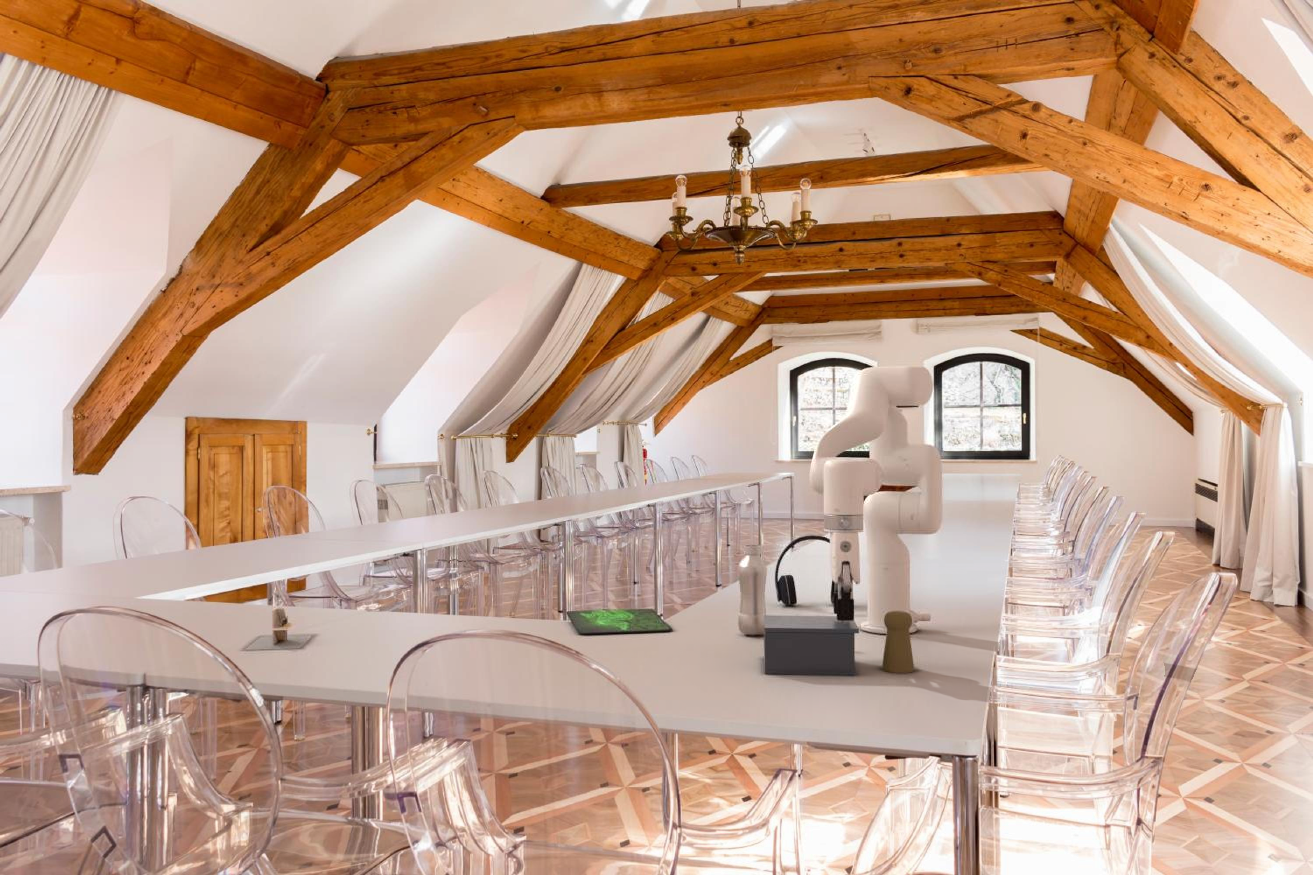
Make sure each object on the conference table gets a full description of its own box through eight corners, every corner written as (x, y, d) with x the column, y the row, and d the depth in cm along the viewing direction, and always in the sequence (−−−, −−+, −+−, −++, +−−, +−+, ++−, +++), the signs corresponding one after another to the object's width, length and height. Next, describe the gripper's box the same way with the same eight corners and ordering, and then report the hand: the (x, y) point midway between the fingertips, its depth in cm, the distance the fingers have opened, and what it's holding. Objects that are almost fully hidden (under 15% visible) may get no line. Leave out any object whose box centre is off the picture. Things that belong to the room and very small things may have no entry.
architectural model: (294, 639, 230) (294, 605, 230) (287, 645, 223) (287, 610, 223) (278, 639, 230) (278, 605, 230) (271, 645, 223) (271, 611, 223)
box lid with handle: (852, 620, 207) (851, 592, 207) (858, 633, 194) (858, 603, 194) (763, 619, 209) (763, 591, 209) (764, 631, 195) (764, 602, 195)
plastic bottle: (766, 638, 230) (766, 547, 230) (736, 637, 231) (735, 546, 231) (769, 632, 236) (769, 544, 236) (739, 631, 237) (739, 543, 237)
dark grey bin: (848, 659, 207) (847, 620, 207) (854, 675, 194) (854, 633, 194) (764, 658, 209) (763, 619, 209) (764, 673, 195) (764, 632, 195)
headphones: (776, 607, 270) (776, 536, 270) (773, 603, 277) (773, 534, 277) (854, 607, 270) (853, 536, 270) (849, 603, 277) (849, 534, 277)
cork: (877, 665, 202) (877, 609, 202) (908, 665, 202) (908, 608, 202) (887, 673, 196) (887, 614, 196) (918, 672, 196) (918, 613, 196)
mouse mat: (674, 631, 237) (674, 626, 237) (577, 635, 233) (577, 630, 233) (651, 611, 264) (651, 607, 264) (564, 614, 260) (564, 610, 260)
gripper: (868, 527, 192) (868, 625, 192) (858, 520, 209) (858, 609, 209) (826, 527, 192) (827, 624, 192) (820, 519, 210) (821, 609, 210)
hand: (843, 616), depth 201 cm, fingers open, 6 cm apart
